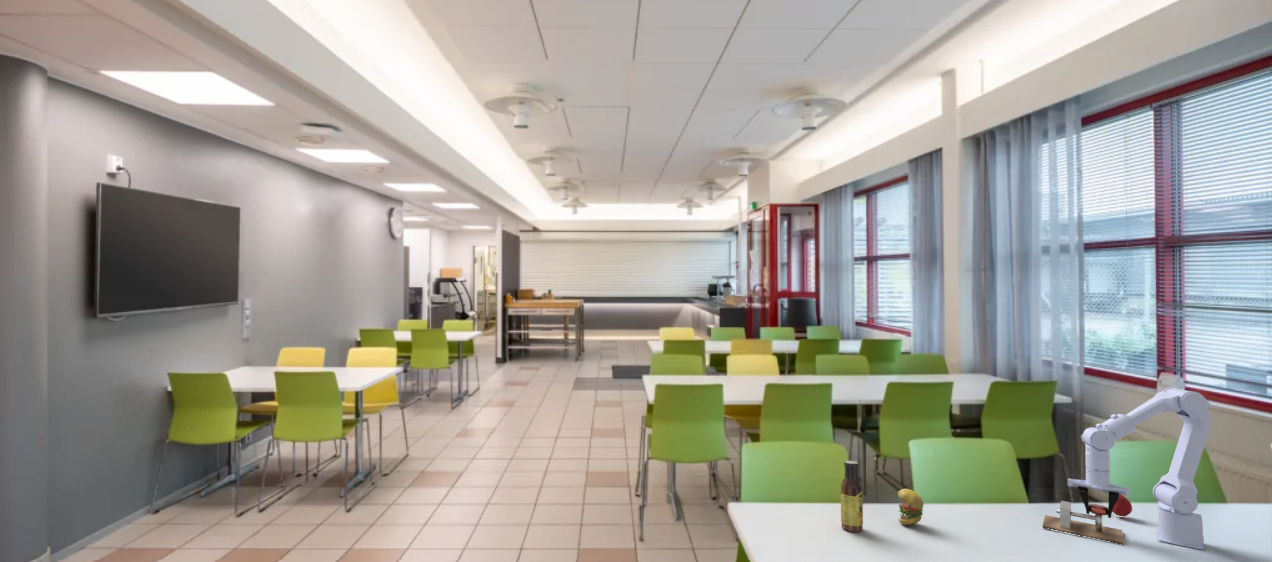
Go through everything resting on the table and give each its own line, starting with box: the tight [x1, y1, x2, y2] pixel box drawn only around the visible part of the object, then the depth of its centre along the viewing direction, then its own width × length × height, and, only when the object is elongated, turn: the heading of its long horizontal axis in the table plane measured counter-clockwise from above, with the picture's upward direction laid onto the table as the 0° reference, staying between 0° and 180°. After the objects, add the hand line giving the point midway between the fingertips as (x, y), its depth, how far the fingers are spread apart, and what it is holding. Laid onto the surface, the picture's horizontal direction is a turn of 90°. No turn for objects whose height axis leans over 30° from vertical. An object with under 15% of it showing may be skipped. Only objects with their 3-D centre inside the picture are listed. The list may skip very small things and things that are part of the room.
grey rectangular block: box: [1059, 500, 1072, 529], centre depth 179 cm, size 2×8×6 cm, turn 142°
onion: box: [1112, 494, 1133, 517], centre depth 188 cm, size 6×6×8 cm
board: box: [1041, 514, 1124, 546], centre depth 177 cm, size 19×12×1 cm, turn 52°
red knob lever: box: [1056, 503, 1108, 531], centre depth 177 cm, size 12×4×7 cm, turn 52°
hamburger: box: [897, 486, 924, 526], centre depth 180 cm, size 8×7×12 cm
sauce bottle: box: [840, 460, 864, 533], centre depth 177 cm, size 6×6×20 cm
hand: (1098, 514), depth 175 cm, fingers closed on red knob lever, 4 cm apart
